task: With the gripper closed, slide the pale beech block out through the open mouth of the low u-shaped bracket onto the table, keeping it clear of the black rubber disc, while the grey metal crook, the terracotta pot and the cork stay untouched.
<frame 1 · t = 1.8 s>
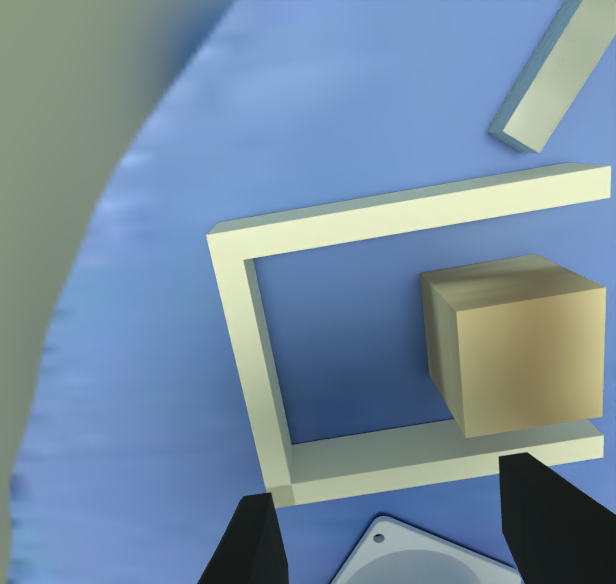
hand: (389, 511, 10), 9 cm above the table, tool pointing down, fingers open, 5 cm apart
u-shaped bracket: (418, 327, 19), on the table
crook: (587, 3, 16), on the table
block: (479, 316, 19), on the table
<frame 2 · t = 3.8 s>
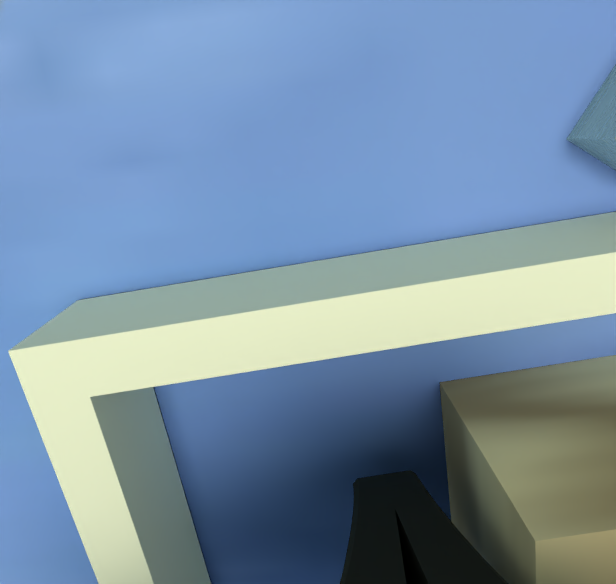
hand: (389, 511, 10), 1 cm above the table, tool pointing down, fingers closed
u-shaped bracket: (435, 469, 11), on the table
block: (539, 450, 11), on the table, touching gripper
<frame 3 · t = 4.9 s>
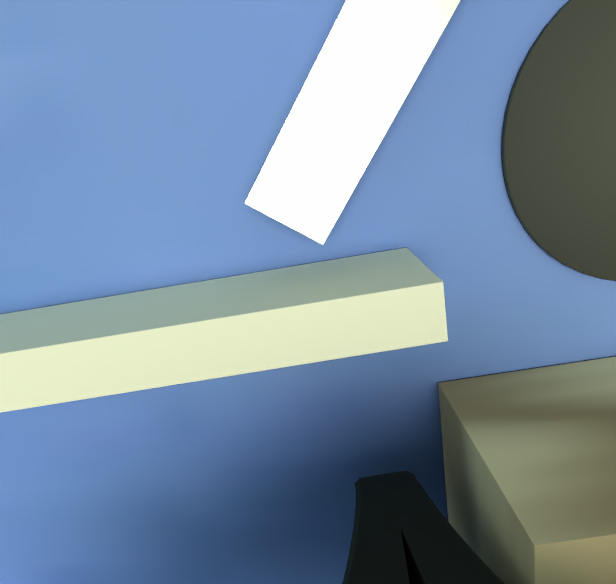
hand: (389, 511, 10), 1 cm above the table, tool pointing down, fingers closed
u-shaped bracket: (182, 508, 11), on the table
block: (538, 452, 11), on the table, touching gripper
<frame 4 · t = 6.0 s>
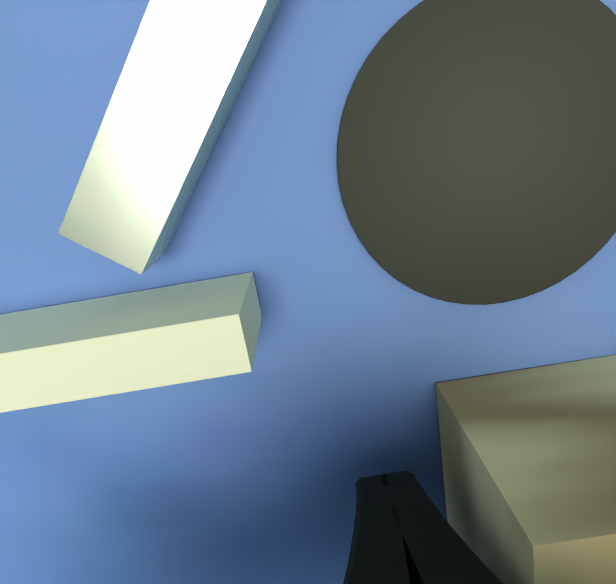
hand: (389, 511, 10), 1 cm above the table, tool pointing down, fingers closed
u-shaped bracket: (54, 528, 12), on the table
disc: (492, 154, 9), on the table
block: (536, 452, 11), on the table, touching gripper
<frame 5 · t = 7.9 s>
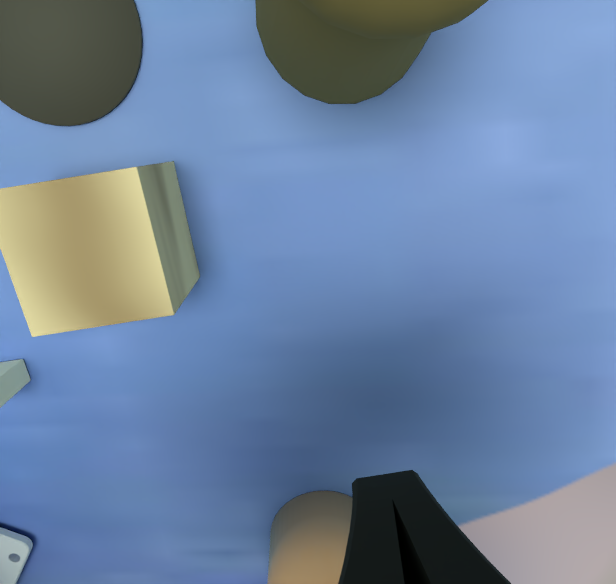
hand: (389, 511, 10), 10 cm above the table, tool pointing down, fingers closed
cork: (342, 11, 16), on the table
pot: (322, 533, 23), on the table
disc: (53, 32, 16), on the table
block: (130, 229, 18), on the table
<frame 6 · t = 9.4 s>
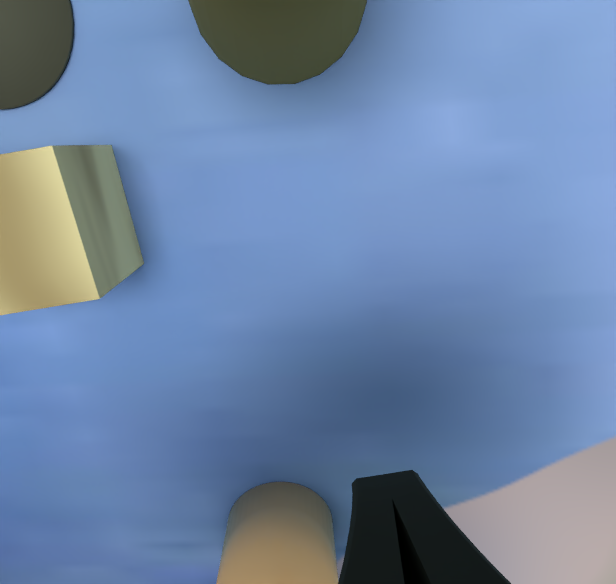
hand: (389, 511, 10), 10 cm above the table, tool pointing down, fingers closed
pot: (280, 525, 23), on the table
block: (71, 215, 18), on the table
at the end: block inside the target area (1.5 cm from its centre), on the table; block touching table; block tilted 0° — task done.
